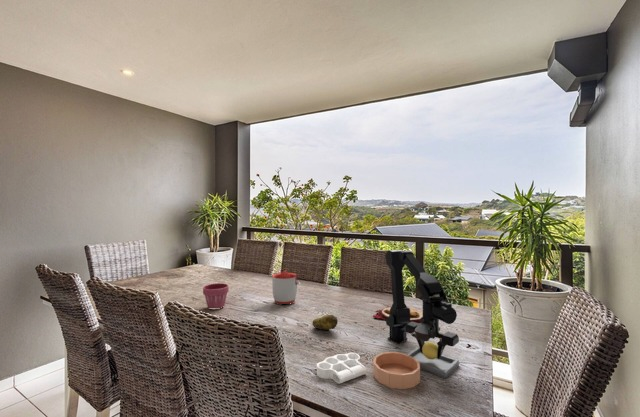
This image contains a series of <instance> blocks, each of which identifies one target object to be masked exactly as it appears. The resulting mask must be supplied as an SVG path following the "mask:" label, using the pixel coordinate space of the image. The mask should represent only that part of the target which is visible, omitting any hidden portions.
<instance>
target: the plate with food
mask: <svg viewBox="0 0 640 417" xmlns="http://www.w3.org/2000/svg"><path fill="white" fill-rule="evenodd" d="M407 307H408V308H410V316H411V318H410V322H416V323H419V324H420V321H421V317H423V310H420V309H418V308H415V307H410V306H407ZM390 308H391V306H386V307H384V308H382V309H379V310H378V309H377V310H376V311H374V313H375V314H373V315H372V318H375V319H381V320H383V321H385V322H386V319H387V318H388V317H389V315H390ZM410 322H409V323H410Z"/></svg>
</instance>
